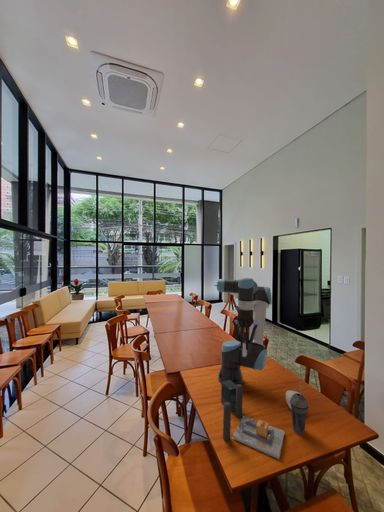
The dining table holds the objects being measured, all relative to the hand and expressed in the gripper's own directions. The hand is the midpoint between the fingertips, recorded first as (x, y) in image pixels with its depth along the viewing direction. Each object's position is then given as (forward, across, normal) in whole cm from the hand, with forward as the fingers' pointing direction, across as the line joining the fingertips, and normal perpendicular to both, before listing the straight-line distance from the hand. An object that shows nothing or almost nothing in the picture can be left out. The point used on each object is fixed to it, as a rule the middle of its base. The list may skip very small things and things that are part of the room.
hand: (244, 355), depth 112 cm
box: (+27, -7, -1) cm, 28 cm away
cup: (+27, +21, +15) cm, 37 cm away
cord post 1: (+26, 0, -22) cm, 34 cm away
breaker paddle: (+25, +12, -14) cm, 31 cm away
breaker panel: (+26, +11, -14) cm, 32 cm away
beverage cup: (+27, +25, -1) cm, 37 cm away
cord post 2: (+26, 0, -6) cm, 27 cm away
